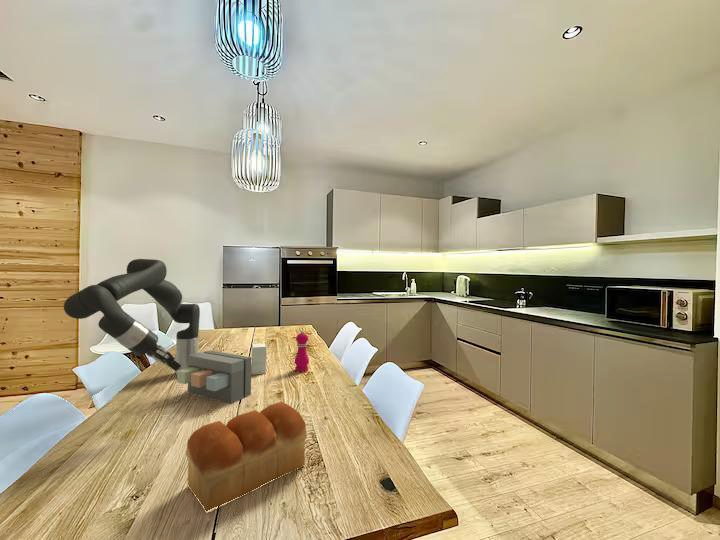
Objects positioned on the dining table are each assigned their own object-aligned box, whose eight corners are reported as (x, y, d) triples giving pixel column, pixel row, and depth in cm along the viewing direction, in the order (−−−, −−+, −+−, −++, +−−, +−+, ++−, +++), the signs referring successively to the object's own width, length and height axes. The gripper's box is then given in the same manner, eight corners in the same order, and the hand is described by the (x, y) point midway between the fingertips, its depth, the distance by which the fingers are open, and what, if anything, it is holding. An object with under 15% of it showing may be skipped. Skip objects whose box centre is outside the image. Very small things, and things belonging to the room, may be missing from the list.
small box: (266, 373, 157) (266, 346, 157) (252, 374, 155) (252, 347, 155) (264, 368, 165) (265, 343, 165) (251, 370, 163) (252, 343, 163)
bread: (205, 517, 66) (206, 444, 66) (185, 487, 75) (186, 423, 75) (306, 466, 84) (307, 408, 84) (280, 447, 93) (281, 395, 93)
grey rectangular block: (206, 389, 119) (206, 377, 119) (223, 382, 126) (223, 371, 126) (214, 391, 117) (214, 379, 117) (232, 384, 124) (232, 372, 124)
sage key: (177, 382, 126) (177, 370, 126) (195, 376, 133) (195, 365, 133) (184, 384, 124) (184, 372, 124) (202, 377, 131) (203, 367, 131)
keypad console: (187, 392, 132) (188, 355, 132) (208, 384, 141) (209, 350, 141) (231, 403, 122) (231, 363, 122) (250, 394, 131) (251, 357, 131)
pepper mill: (310, 368, 167) (311, 329, 167) (306, 372, 160) (307, 331, 160) (296, 367, 167) (297, 328, 167) (292, 372, 160) (293, 331, 160)
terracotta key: (191, 385, 122) (191, 373, 122) (209, 379, 129) (209, 368, 129) (199, 387, 120) (199, 375, 120) (217, 381, 128) (217, 369, 128)
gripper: (155, 330, 97) (196, 361, 107) (137, 324, 104) (176, 355, 114) (135, 351, 92) (179, 382, 103) (117, 344, 100) (160, 374, 110)
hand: (177, 367), depth 108 cm, fingers closed
